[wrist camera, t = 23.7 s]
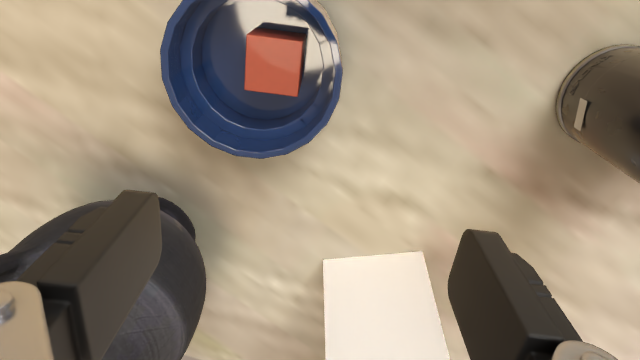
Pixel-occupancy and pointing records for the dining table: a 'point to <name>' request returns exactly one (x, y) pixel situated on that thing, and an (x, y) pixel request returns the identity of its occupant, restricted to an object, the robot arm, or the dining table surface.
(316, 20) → the bowl
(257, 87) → the block
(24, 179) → the dining table surface
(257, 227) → the dining table surface
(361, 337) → the milk
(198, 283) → the pitcher
